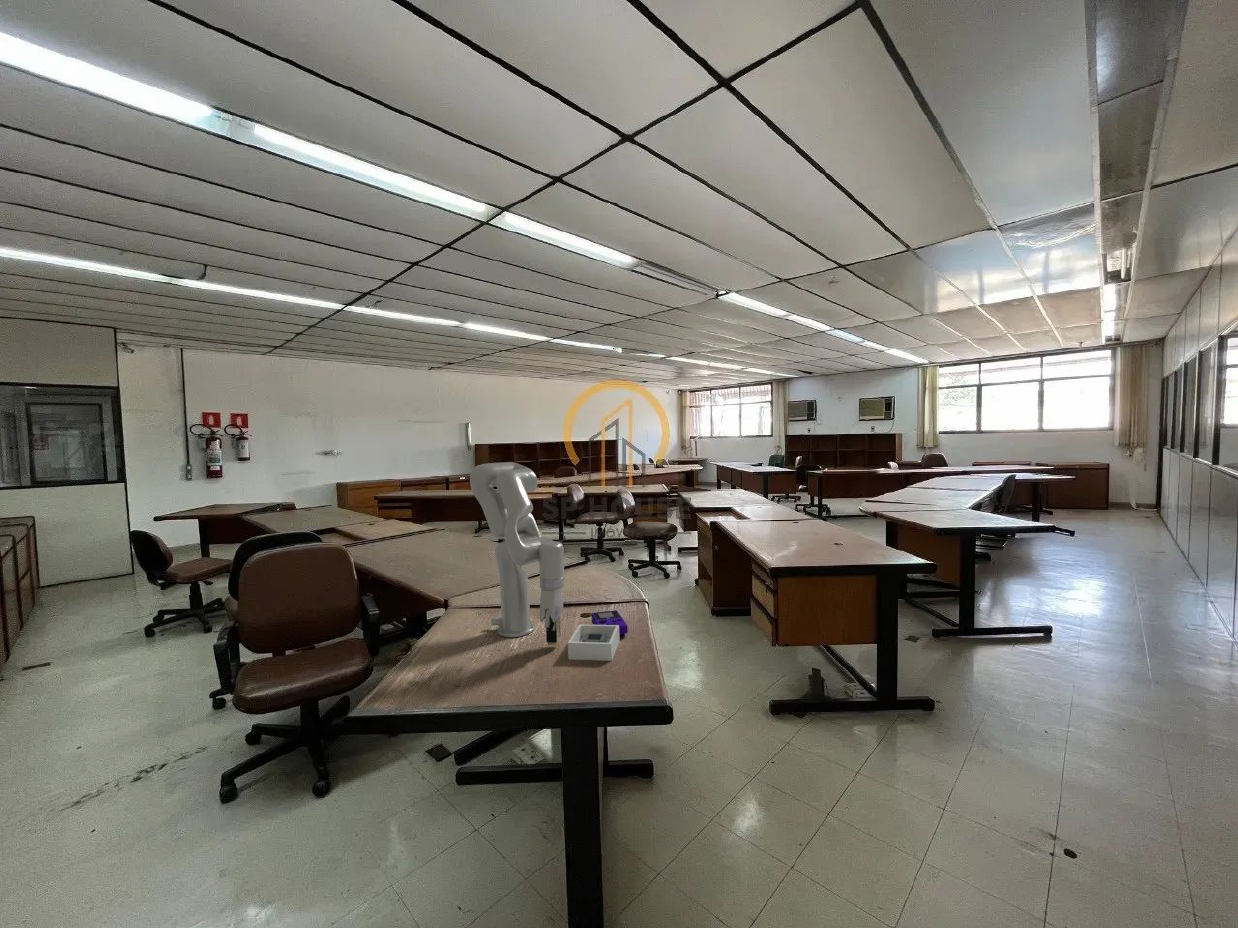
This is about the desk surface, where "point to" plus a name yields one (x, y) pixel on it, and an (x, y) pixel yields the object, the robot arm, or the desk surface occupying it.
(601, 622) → the handheld gaming console
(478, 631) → the desk surface
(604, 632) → the box
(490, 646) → the desk surface
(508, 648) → the desk surface
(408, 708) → the desk surface
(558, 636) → the peg
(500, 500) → the robot arm
